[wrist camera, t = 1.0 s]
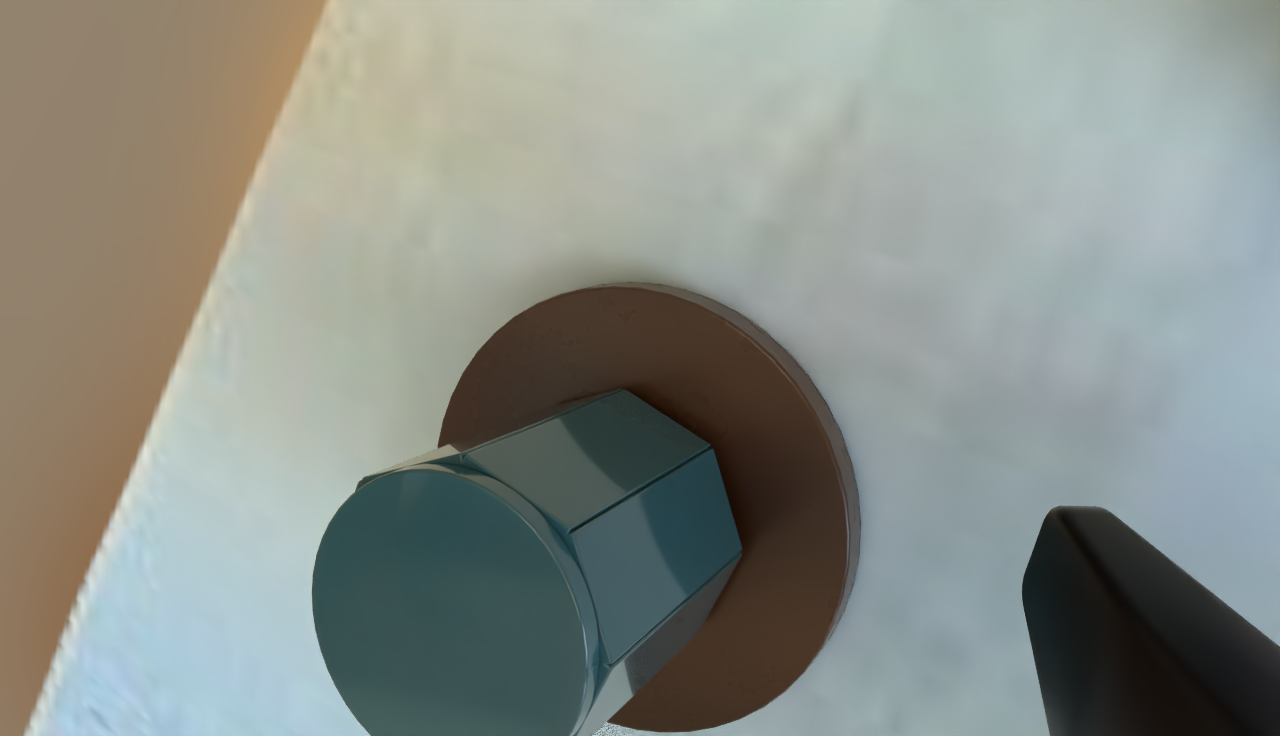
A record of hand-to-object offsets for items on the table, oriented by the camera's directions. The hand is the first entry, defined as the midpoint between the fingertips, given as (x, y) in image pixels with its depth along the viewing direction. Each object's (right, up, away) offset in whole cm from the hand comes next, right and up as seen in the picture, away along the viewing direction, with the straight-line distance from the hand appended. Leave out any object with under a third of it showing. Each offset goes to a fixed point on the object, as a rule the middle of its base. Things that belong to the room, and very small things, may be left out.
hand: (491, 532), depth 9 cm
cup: (+1, -2, +18) cm, 18 cm away
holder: (+1, -2, +19) cm, 19 cm away
